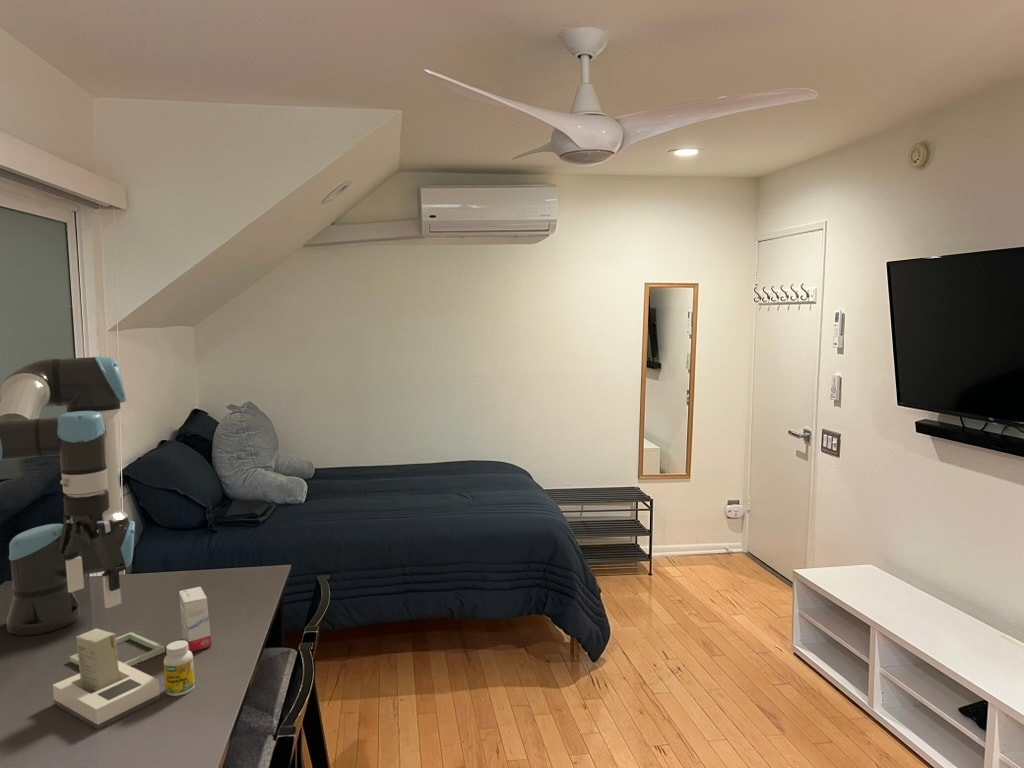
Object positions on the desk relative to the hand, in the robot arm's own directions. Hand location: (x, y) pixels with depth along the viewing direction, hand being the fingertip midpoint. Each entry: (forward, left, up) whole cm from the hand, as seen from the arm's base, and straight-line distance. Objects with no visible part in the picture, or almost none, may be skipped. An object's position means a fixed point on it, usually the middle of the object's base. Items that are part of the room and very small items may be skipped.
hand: (94, 597), depth 139 cm
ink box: (-4, +24, -21) cm, 32 cm away
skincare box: (0, 0, -20) cm, 20 cm away
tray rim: (-13, +11, -21) cm, 27 cm away
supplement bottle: (+11, +10, -21) cm, 26 cm away
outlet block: (+3, 0, -21) cm, 21 cm away
